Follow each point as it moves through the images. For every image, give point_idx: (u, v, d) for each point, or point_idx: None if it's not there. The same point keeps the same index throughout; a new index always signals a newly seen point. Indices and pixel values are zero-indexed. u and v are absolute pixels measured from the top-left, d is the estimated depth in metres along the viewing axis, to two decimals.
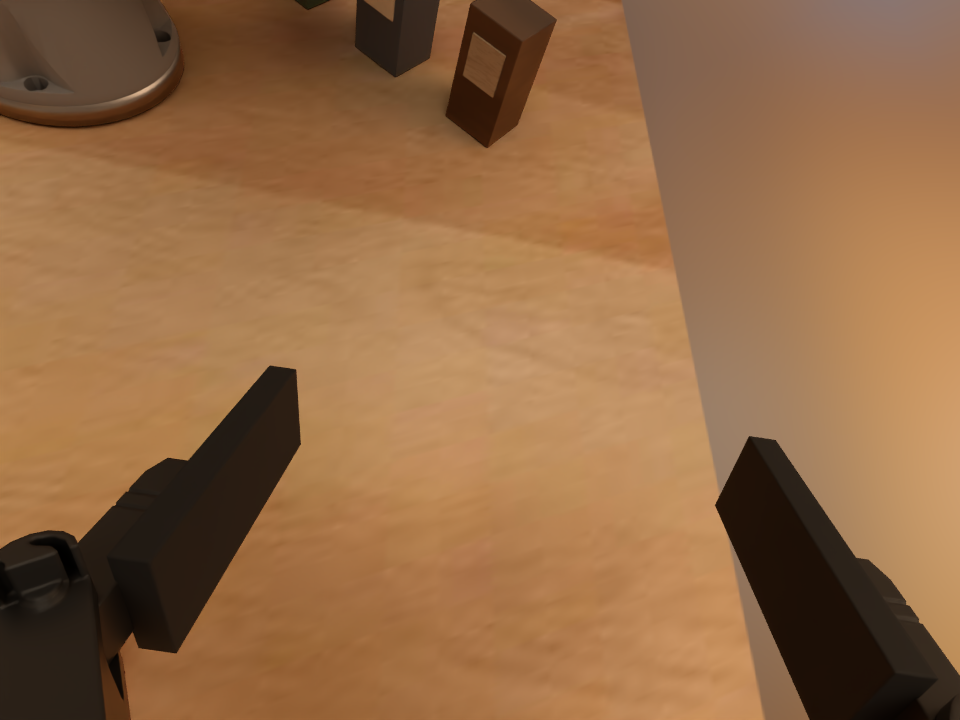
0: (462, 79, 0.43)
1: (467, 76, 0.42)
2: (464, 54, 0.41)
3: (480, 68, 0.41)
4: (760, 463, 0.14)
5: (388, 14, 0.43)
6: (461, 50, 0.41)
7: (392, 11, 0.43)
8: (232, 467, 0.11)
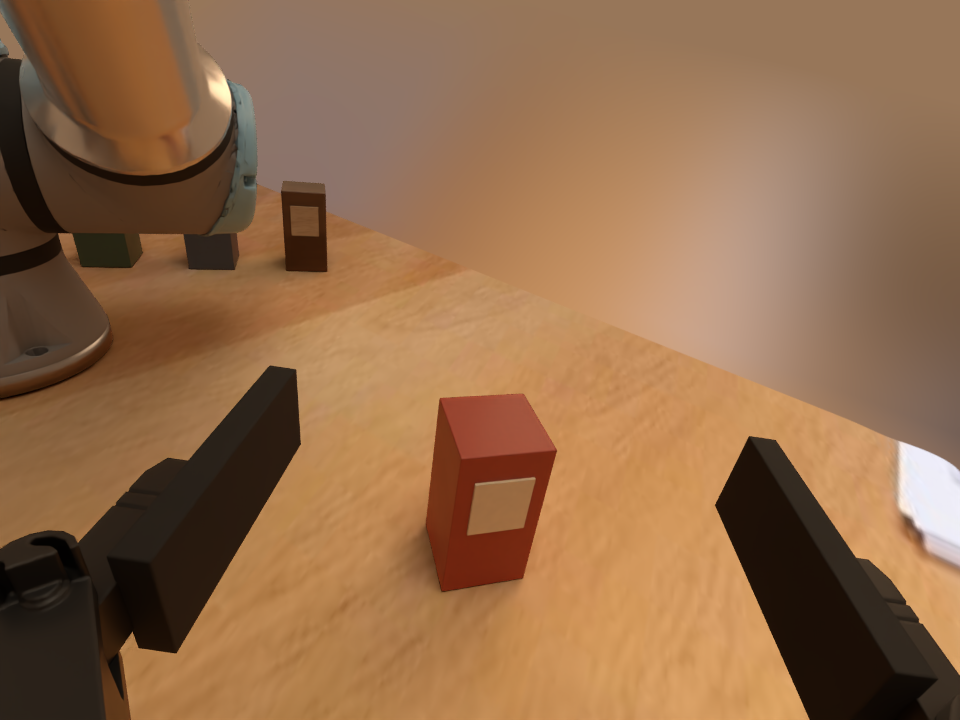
0: (291, 238, 0.63)
1: (295, 233, 0.63)
2: (288, 222, 0.62)
3: (303, 224, 0.63)
4: (760, 463, 0.14)
5: None
6: (284, 221, 0.62)
7: None
8: (232, 467, 0.11)
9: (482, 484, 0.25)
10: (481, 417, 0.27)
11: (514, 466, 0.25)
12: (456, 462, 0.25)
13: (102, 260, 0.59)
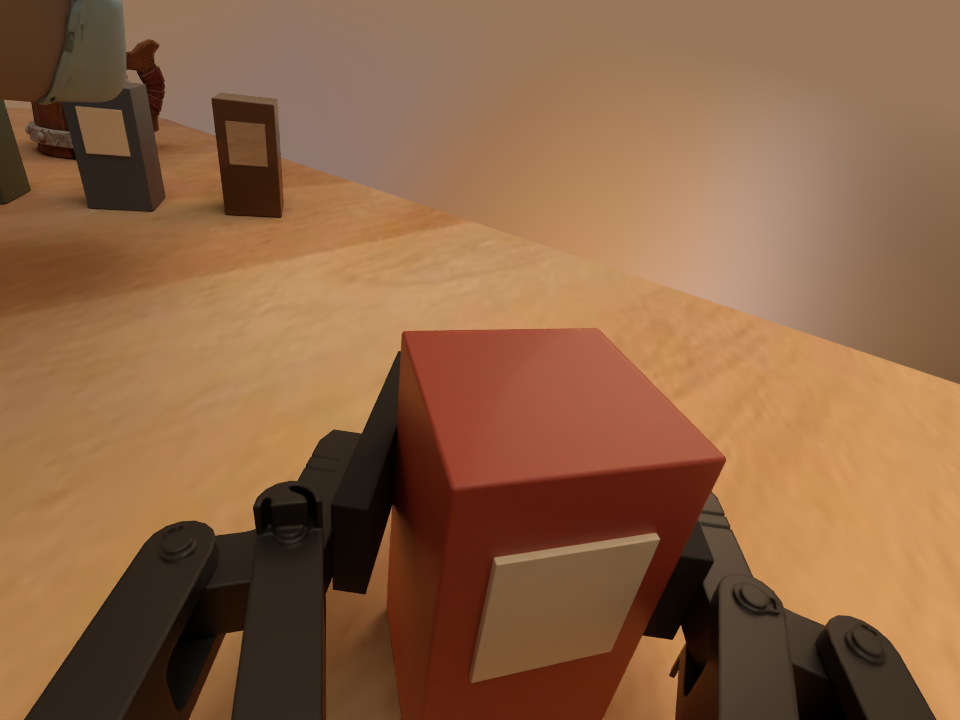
0: (230, 168, 0.47)
1: (235, 161, 0.46)
2: (223, 144, 0.46)
3: (244, 147, 0.46)
4: None
5: (123, 151, 0.44)
6: (218, 143, 0.46)
7: (127, 146, 0.44)
8: None
9: (515, 559, 0.09)
10: (507, 373, 0.10)
11: (608, 504, 0.09)
12: (438, 497, 0.08)
13: None
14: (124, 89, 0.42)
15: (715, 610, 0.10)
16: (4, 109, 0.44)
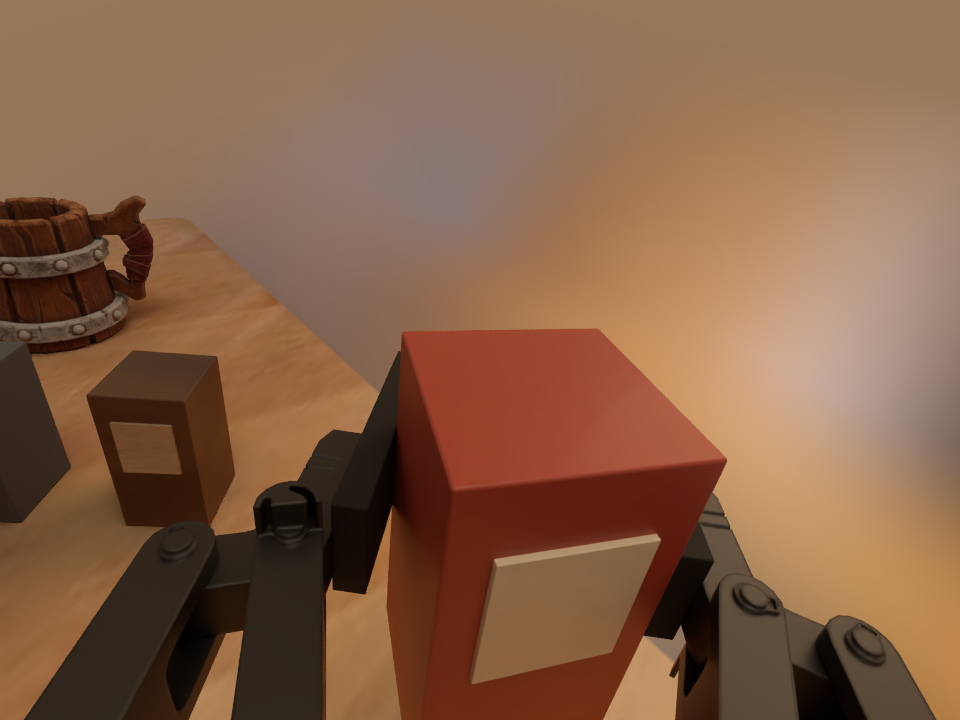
0: (126, 476, 0.30)
1: (131, 469, 0.30)
2: (112, 449, 0.29)
3: (143, 453, 0.29)
4: None
5: None
6: (104, 447, 0.29)
7: None
8: None
9: (517, 560, 0.09)
10: (507, 373, 0.10)
11: (608, 506, 0.09)
12: (438, 498, 0.08)
13: None
14: None
15: (715, 610, 0.10)
16: None
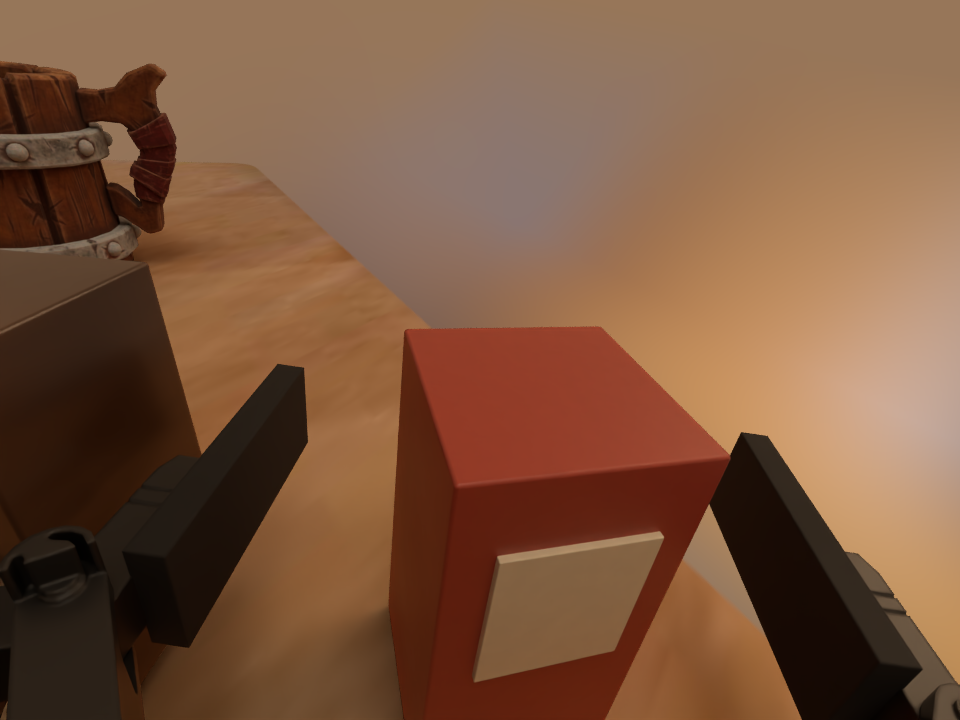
0: None
1: None
2: None
3: None
4: (751, 459, 0.14)
5: None
6: None
7: None
8: (242, 464, 0.11)
9: (519, 557, 0.09)
10: (511, 371, 0.10)
11: (612, 504, 0.09)
12: (441, 495, 0.08)
13: None
14: None
15: (926, 716, 0.08)
16: None
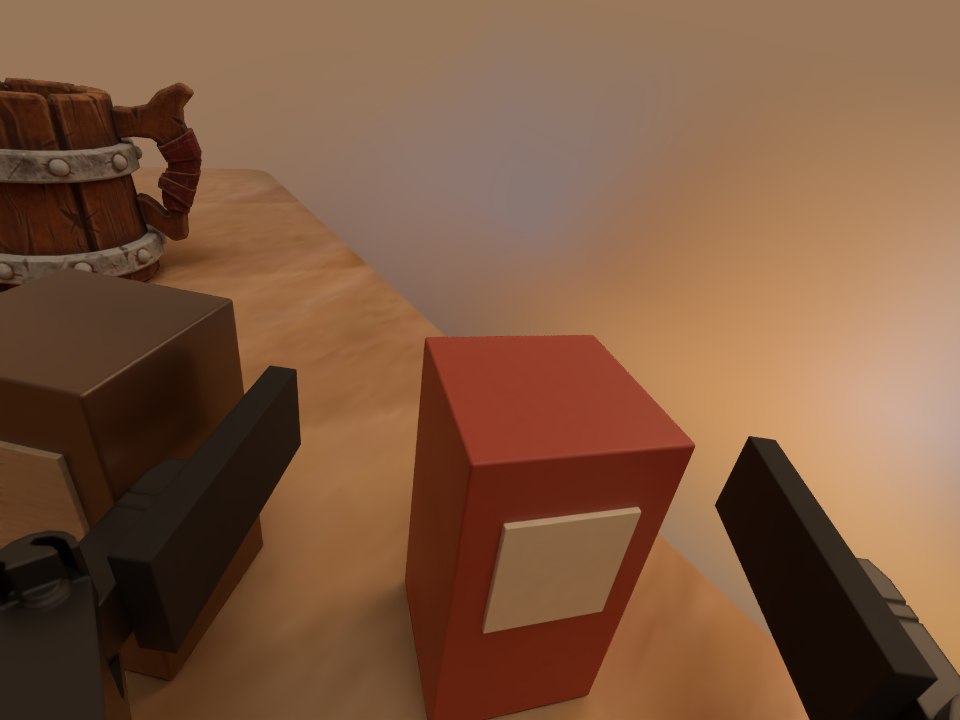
0: None
1: None
2: None
3: (10, 513, 0.12)
4: (759, 463, 0.14)
5: None
6: None
7: None
8: (232, 467, 0.11)
9: (521, 525, 0.11)
10: (515, 373, 0.12)
11: (597, 481, 0.11)
12: (459, 473, 0.10)
13: None
14: None
15: None
16: None
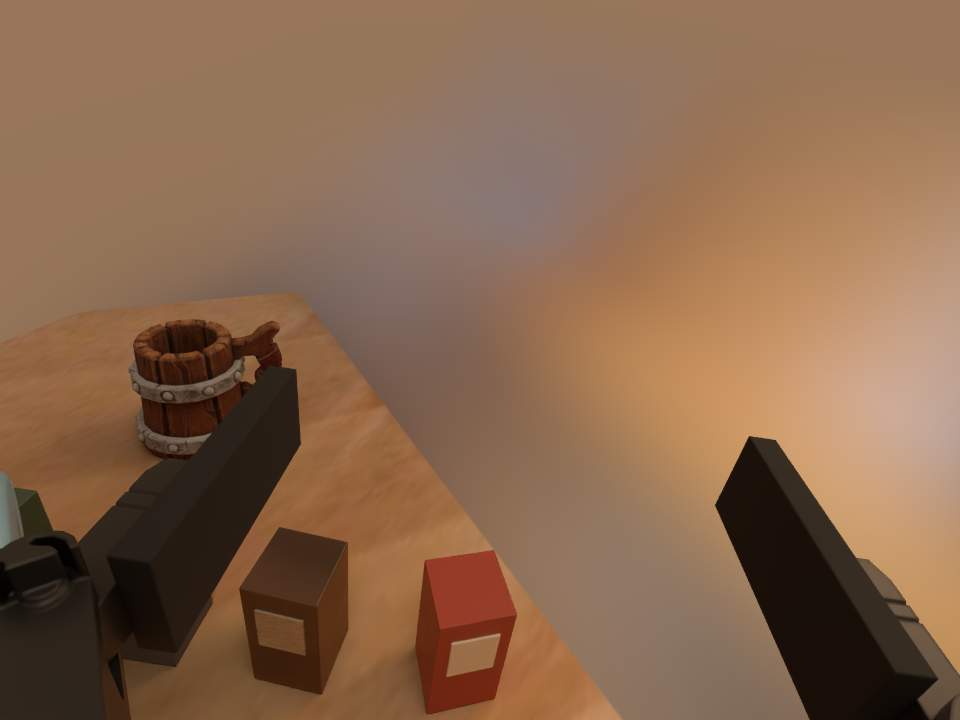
0: (260, 646, 0.34)
1: (265, 644, 0.34)
2: (252, 626, 0.33)
3: (277, 636, 0.33)
4: (760, 463, 0.14)
5: None
6: (247, 624, 0.33)
7: None
8: (232, 467, 0.11)
9: (457, 643, 0.32)
10: (458, 580, 0.34)
11: (482, 628, 0.32)
12: (436, 627, 0.31)
13: None
14: None
15: None
16: (46, 526, 0.37)
